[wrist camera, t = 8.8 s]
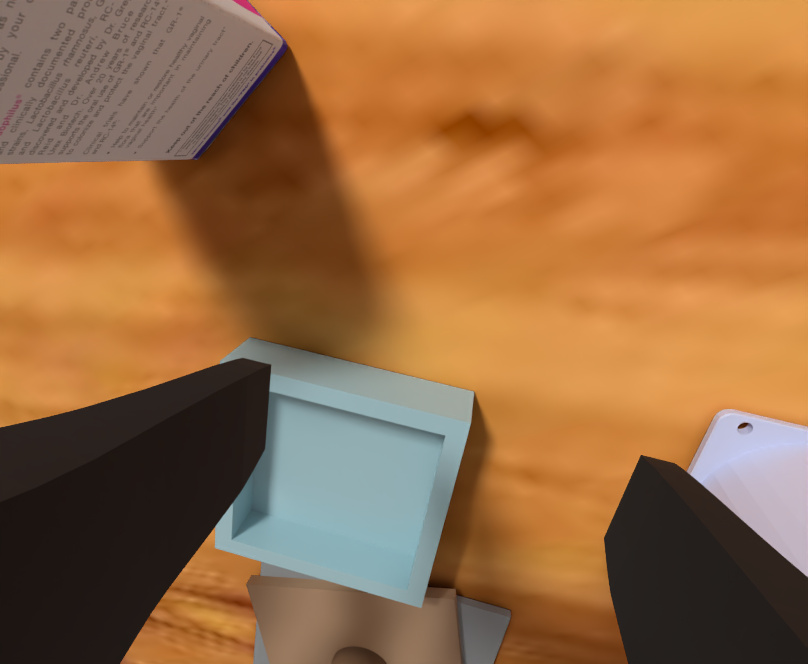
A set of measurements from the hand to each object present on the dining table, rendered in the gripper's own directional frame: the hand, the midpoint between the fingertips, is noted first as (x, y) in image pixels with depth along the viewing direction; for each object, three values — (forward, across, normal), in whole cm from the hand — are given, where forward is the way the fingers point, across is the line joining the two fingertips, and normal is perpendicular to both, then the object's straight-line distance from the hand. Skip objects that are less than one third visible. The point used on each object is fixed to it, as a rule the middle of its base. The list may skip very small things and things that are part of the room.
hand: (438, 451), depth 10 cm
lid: (+10, +1, +22) cm, 24 cm away
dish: (+10, +4, +9) cm, 14 cm away
